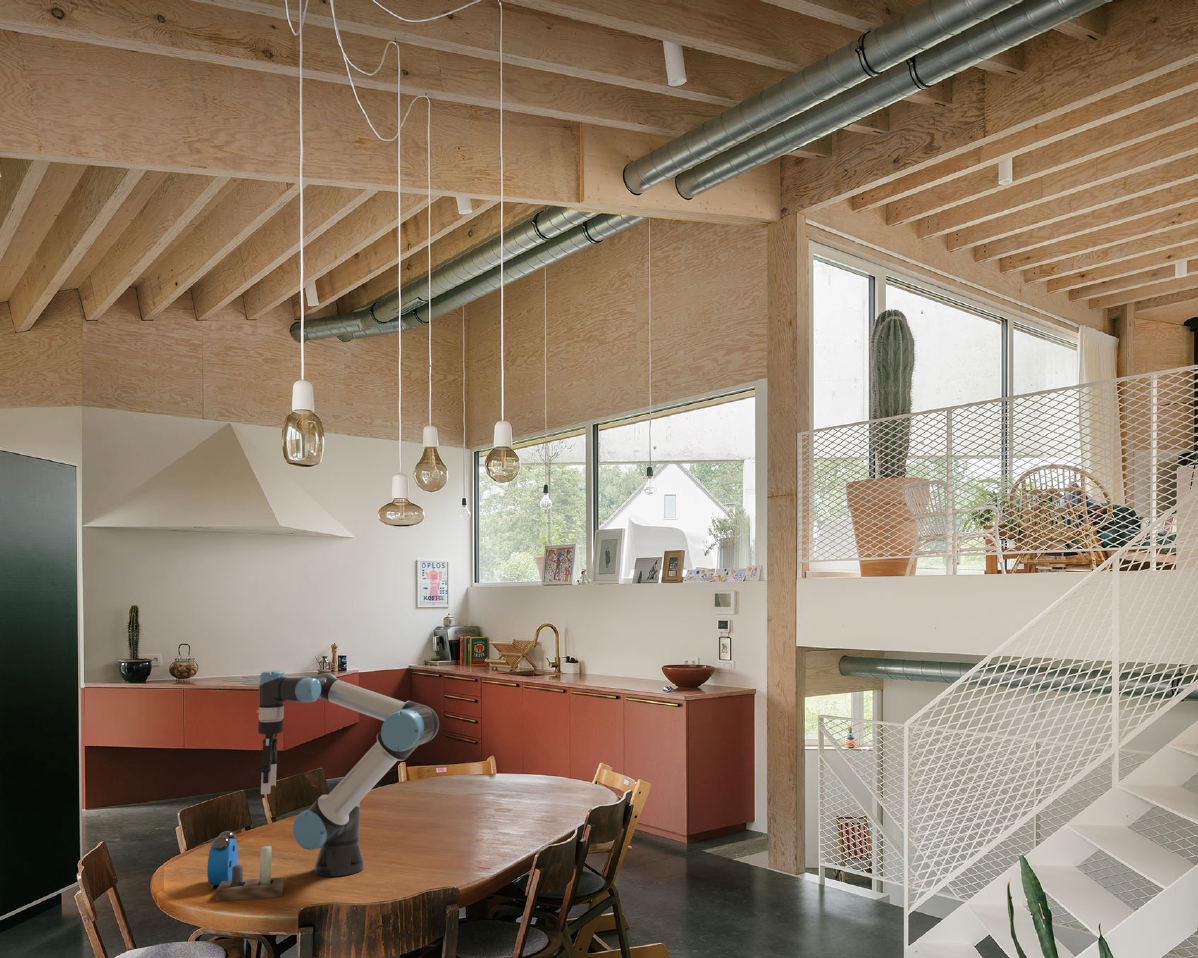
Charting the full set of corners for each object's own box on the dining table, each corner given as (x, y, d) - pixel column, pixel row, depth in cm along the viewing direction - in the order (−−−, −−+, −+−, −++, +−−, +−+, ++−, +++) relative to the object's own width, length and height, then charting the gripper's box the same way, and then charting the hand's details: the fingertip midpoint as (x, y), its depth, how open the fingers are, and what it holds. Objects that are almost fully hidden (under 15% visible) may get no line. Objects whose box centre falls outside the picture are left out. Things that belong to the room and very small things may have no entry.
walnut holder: (284, 887, 287) (285, 859, 288) (281, 896, 278) (282, 867, 279) (221, 891, 283) (222, 863, 284) (215, 900, 274) (216, 871, 275)
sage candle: (259, 892, 282) (261, 846, 284) (270, 891, 283) (272, 845, 285) (258, 895, 279) (260, 849, 281) (269, 894, 280) (270, 848, 282)
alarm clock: (217, 878, 296) (219, 828, 298) (237, 877, 297) (239, 827, 299) (205, 891, 283) (208, 839, 285) (227, 890, 284) (229, 838, 286)
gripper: (263, 716, 314) (261, 782, 311) (252, 725, 289) (249, 798, 287) (287, 715, 315) (285, 781, 313) (278, 725, 291) (276, 796, 288)
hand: (268, 789), depth 300 cm, fingers open, 13 cm apart
